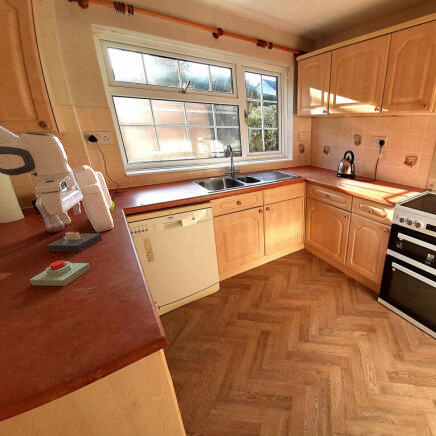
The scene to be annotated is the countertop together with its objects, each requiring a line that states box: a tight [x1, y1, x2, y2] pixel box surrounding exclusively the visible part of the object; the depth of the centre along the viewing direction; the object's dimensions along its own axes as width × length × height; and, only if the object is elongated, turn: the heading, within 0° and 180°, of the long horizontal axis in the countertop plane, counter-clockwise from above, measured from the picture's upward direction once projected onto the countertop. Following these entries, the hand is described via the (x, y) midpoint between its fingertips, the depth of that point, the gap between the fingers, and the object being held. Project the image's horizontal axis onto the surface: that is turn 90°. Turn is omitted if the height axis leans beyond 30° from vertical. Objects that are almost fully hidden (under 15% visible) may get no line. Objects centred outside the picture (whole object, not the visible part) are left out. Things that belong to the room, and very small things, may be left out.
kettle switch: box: [49, 259, 66, 270], centre depth 82 cm, size 4×4×2 cm
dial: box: [64, 231, 81, 240], centre depth 104 cm, size 5×1×3 cm, turn 86°
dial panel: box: [46, 233, 103, 253], centre depth 105 cm, size 14×11×3 cm
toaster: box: [71, 164, 114, 233], centre depth 121 cm, size 27×11×30 cm, turn 44°
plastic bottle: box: [34, 192, 66, 234], centre depth 117 cm, size 6×7×20 cm
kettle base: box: [29, 260, 92, 287], centre depth 83 cm, size 12×10×4 cm
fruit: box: [109, 200, 115, 214], centre depth 139 cm, size 9×9×10 cm
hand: (73, 218), depth 89 cm, fingers open, 8 cm apart
